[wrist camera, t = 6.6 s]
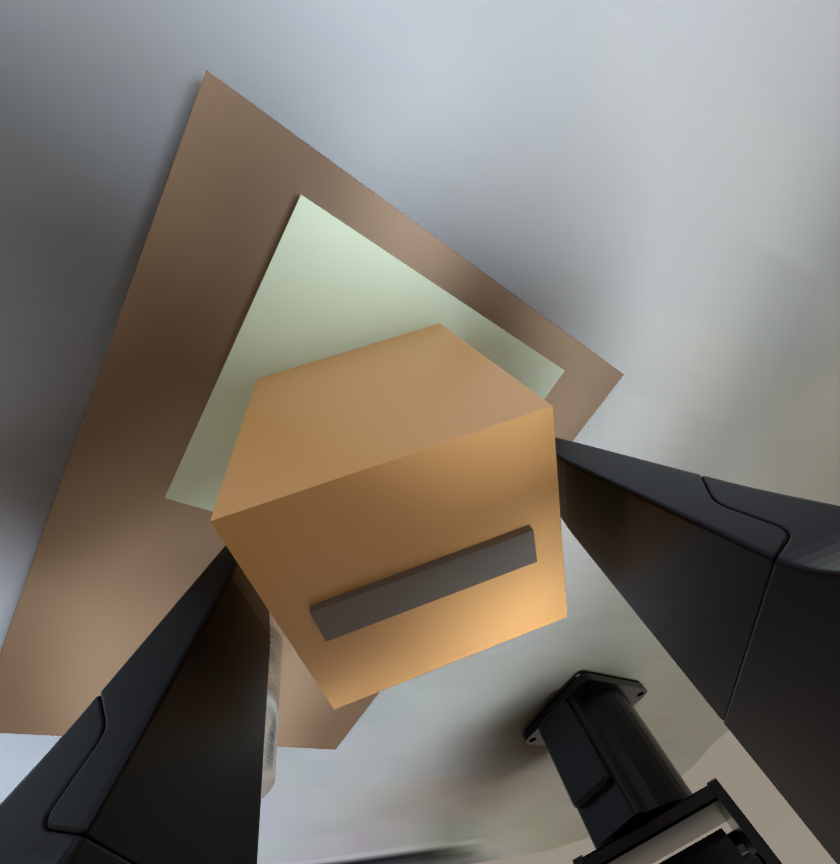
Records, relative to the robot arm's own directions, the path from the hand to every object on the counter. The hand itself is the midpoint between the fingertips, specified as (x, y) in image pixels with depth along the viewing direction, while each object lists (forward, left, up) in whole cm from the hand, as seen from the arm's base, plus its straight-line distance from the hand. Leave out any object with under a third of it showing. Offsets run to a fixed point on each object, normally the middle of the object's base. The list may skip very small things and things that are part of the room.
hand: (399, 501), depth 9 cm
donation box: (0, 0, -4) cm, 4 cm away
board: (0, +5, -5) cm, 7 cm away
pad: (0, 0, -4) cm, 4 cm away
